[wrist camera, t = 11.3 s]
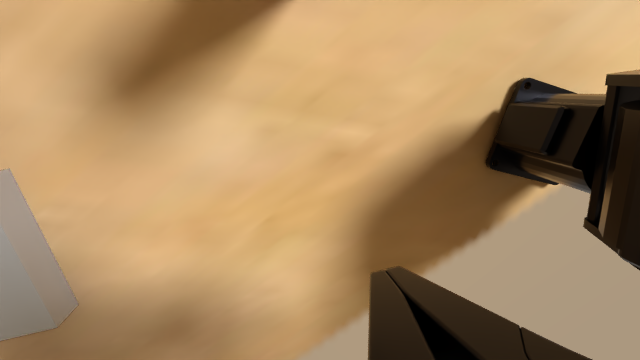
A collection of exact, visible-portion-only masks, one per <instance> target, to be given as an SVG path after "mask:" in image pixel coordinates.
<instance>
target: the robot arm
mask: <svg viewBox="0 0 640 360" xmlns="http://www.w3.org/2000/svg"><path fill="white" fill-rule="evenodd" d="M525 83H526V84H527V85H526V88H524V85H525ZM605 85H608V86H607V92H606V94H577V93H574V92H571V91H568V90H565V89H562V88H559V87H556V86H553V85H550V84H547V83H544V82H541V81H538V80H535V79H532V78H523V79H521V80H519V81H518V83H517V85H516V88H515V90H514V93H513V95H512V98H511V100H510V103H509V105H508V108H507V110H506V112H505V115H504V117H503V120H502V122H501V125H500V127H499V130H498V132H497V135H496V137H495V140H494V142H493V145H492V147H491V150H490V152H489V155H488V157H487V159H486V166H487V167H488V168H490V169H493V170H497V171H501V172H505V173H509V174H513V175H517V176H521V177H525V178H529V179H533V180H537V181H540V182H544V183H548V184H552V185H557V184H559V183H560V184H563V185H566V186H569V187H572V188H575V189H579V190H581V191H584V192H587V193H590V201H589V207H588V213H587V217H586V218H585V219H584V225H583V227H584V228H585V229H587V230H588V231H589V232H591V233H592V234H593V235H594V236H596V237H597V238H598V239H599V240H601V241H602V242H603V243H605V244H606V245H607V246H608V247H610V248H611V249H612V250H613V251H615V252H616V253H617V254H618V255H619V256H620V257H621V258H622V259H623V260H625V261H627V262H629V263H630V264H631V265H633V266H634V267H636V268H637V269H639V270H640V70H634V71H627V72H620V73H612V74H607V76H606V83H605ZM494 160H495V163H494V164H492V163H493V161H494ZM368 339H369V340H368V360H592V359H590V358H587V357H585V356H583V355H581V354H578V353H576V352H574V351H571V350H569V349H567V348H565V347H563V346H560V345H559V344H556V343H554V342H552V341H550V340H548V339H546V338H544V337H542V336H540V335H537V334H536V333H534V332H532V331H529V330H527V329H525V328H523V327H521V328H520V327H519V325H517V324H515V323H513V322H511V321H509V320H507V319H505V318H503V317H501V316H499V315H497V314H495V313H493V312H491V311H489V310H487V309H485V308H483V307H481V306H479V305H477V304H475V303H473V302H471V301H469V300H467V299H465V298H463V297H461V296H459V295H457V294H455V293H453V292H451V291H449V290H447V289H445V288H443V287H441V286H439V285H437V284H435V283H433V282H431V281H429V280H427V279H425V278H423V277H421V276H419V275H417V274H415V273H413V272H411V271H409V270H407V269H405V268H403V267H400V266H396V267H392V268H388V269H386V270H380V271H375V272H372V273H371V274H370V296H369V338H368Z"/></svg>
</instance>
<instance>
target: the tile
mask: <svg viewBox="0 0 640 360" xmlns="http://www.w3.org/2000/svg"><path fill="white" fill-rule="evenodd" d="M78 305H79V303H78V302H77V300H76V298H75V296H74V294H73V292H72V290H71V288H70V286H69V284H68V282H67V280H66V278H65V276H64V274H63V272H62V270H61V268H60V266H59V264H58V262H57V260H56V258H55V256H54V255H53V253H52V251H51V249H50V247H49V245H48V243H47V241H46V239H45V237H44V235H43V233H42V231H41V229H40V227H39V225H38V223H37V221H36V219H35V217H34V215H33V213H32V211H31V209H30V208H29V206H28V204H27V202H26V200H25V198H24V196H23V194H22V192H21V190H20V188H19V186H18V184H17V182H16V180H15V178H14V176H13V174H12V172H11V170H10V168H9V169H3V170H0V341H2V340H7V339H11V338H15V337H19V336H24V335H28V334H32V333H37V332H41V331H45V330H50V329H54V328H58V326H59V325H60V324H61V323H62V322H63V321H64V320H65V319H66V318H67V317H68V316H69V315H70V313H71V312H72V311H73V310H74V309H75V308H76V307H77V306H78Z"/></svg>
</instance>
